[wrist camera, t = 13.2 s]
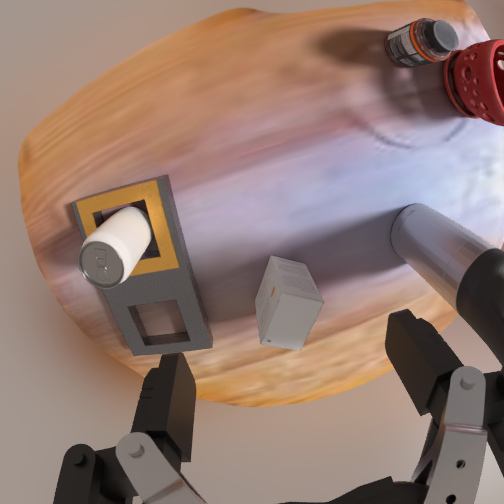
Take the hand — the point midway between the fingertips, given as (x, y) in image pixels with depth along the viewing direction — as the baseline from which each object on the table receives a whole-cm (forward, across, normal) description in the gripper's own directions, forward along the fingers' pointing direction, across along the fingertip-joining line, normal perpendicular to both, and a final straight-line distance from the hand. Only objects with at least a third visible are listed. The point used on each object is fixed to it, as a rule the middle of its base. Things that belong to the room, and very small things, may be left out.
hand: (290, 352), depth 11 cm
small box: (+30, -2, +15) cm, 34 cm away
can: (+30, +17, +2) cm, 35 cm away
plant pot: (+30, -38, -14) cm, 50 cm away
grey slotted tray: (+30, +17, +10) cm, 36 cm away
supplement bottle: (+30, -25, -18) cm, 43 cm away
